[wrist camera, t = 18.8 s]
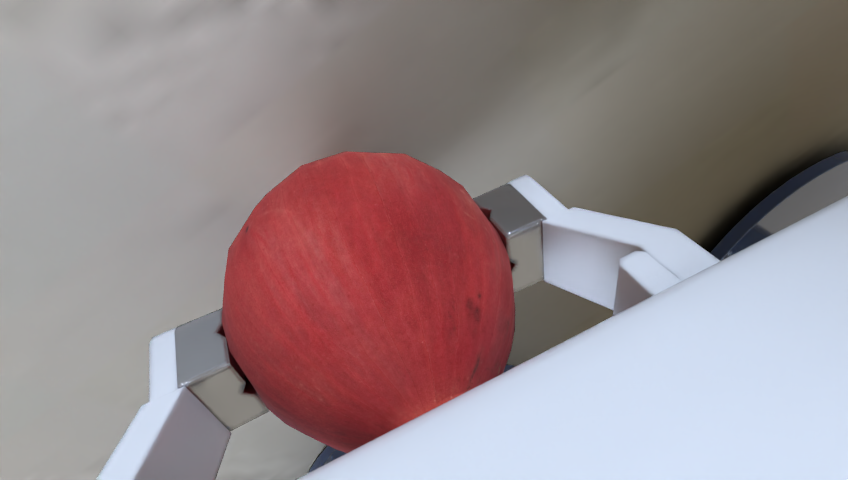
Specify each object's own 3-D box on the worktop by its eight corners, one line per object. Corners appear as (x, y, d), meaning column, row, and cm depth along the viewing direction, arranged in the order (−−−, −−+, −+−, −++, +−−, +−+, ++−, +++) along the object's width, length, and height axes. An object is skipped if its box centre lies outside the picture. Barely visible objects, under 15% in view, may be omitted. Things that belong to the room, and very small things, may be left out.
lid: (683, 213, 20) (802, 297, 17) (921, 98, 23) (1073, 148, 19) (644, 383, 30) (715, 461, 26) (816, 288, 32) (904, 347, 28)
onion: (459, 200, 15) (652, 422, 9) (311, 315, 15) (409, 599, 10) (347, 42, 11) (570, 264, 5) (149, 204, 11) (151, 584, 5)
